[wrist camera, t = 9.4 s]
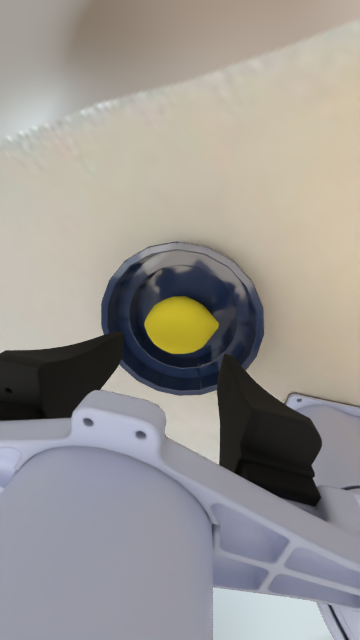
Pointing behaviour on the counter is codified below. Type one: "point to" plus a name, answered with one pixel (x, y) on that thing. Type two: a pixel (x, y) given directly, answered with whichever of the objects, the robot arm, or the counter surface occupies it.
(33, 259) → the counter surface
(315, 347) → the counter surface
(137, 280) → the stepped navy bowl
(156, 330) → the lemon
